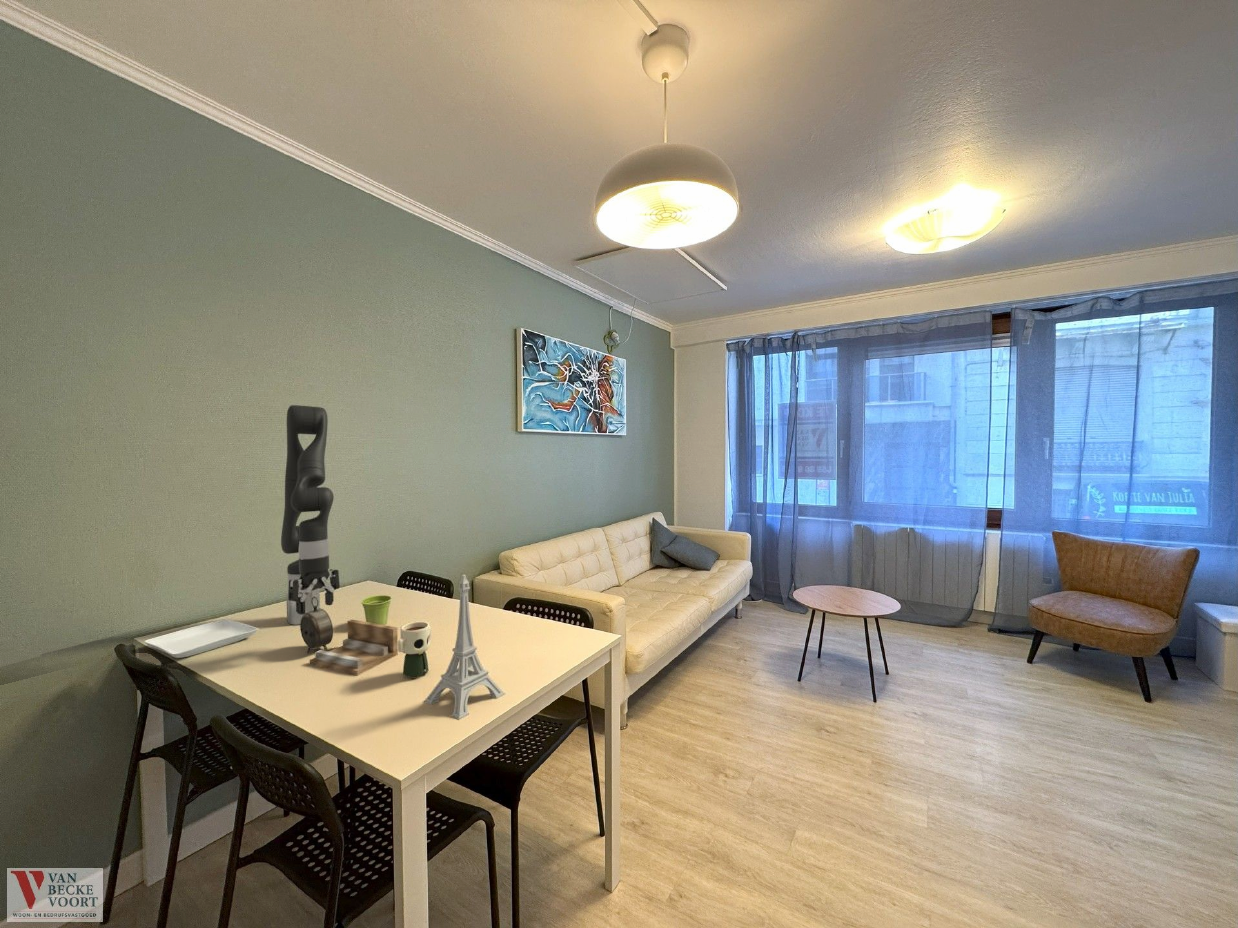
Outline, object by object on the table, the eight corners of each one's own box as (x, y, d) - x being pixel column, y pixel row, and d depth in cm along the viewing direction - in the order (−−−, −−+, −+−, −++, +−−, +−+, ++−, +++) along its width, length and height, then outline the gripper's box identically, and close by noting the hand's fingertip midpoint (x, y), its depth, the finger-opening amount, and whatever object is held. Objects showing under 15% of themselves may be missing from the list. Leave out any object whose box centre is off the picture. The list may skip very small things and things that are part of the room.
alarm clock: (334, 651, 140) (333, 597, 140) (315, 658, 136) (313, 602, 135) (316, 643, 146) (315, 591, 146) (296, 649, 142) (295, 595, 141)
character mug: (409, 686, 120) (409, 635, 119) (389, 680, 123) (388, 631, 122) (441, 667, 130) (440, 621, 130) (421, 663, 133) (420, 617, 132)
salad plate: (142, 650, 142) (141, 639, 141) (227, 626, 160) (227, 616, 160) (174, 666, 132) (173, 653, 132) (260, 638, 150) (260, 628, 150)
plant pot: (398, 620, 166) (397, 595, 166) (381, 630, 156) (381, 604, 156) (372, 619, 167) (372, 594, 166) (355, 629, 157) (354, 603, 157)
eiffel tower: (470, 679, 124) (469, 565, 123) (505, 694, 116) (504, 573, 115) (423, 701, 113) (422, 577, 112) (459, 720, 105) (457, 586, 104)
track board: (309, 664, 132) (309, 635, 132) (352, 645, 145) (351, 619, 144) (357, 675, 126) (356, 645, 125) (397, 654, 138) (397, 627, 138)
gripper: (327, 549, 148) (328, 600, 149) (280, 559, 135) (282, 615, 135) (344, 550, 145) (346, 603, 146) (299, 561, 132) (300, 618, 133)
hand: (315, 609), depth 141 cm, fingers open, 8 cm apart
